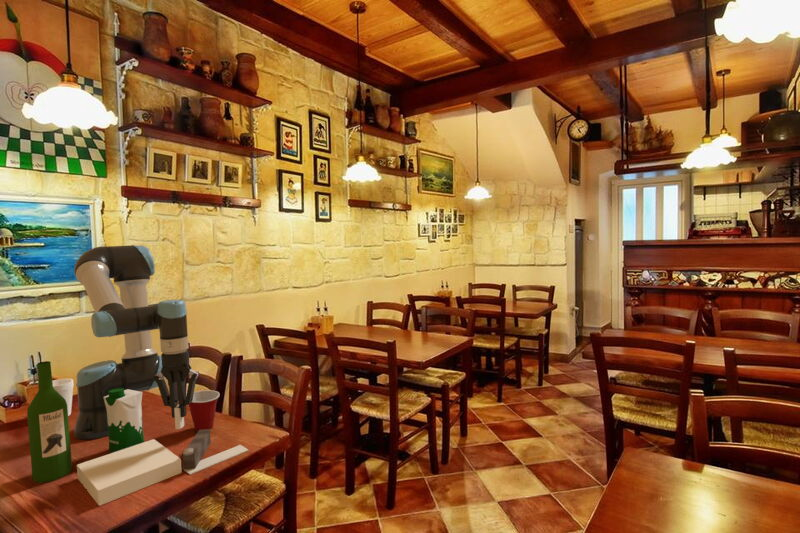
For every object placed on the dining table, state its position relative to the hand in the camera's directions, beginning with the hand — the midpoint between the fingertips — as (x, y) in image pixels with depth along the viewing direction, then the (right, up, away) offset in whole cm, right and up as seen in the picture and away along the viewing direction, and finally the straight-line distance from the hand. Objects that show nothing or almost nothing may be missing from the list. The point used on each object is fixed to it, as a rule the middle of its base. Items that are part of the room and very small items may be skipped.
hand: (180, 427), depth 136 cm
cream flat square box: (-9, -10, -11) cm, 17 cm away
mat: (+12, -9, -3) cm, 15 cm away
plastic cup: (-1, -8, +20) cm, 21 cm away
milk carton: (-19, -9, +5) cm, 22 cm away
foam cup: (-63, -8, +34) cm, 72 cm away
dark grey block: (+6, -8, -1) cm, 10 cm away
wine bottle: (-32, -10, -9) cm, 35 cm away
